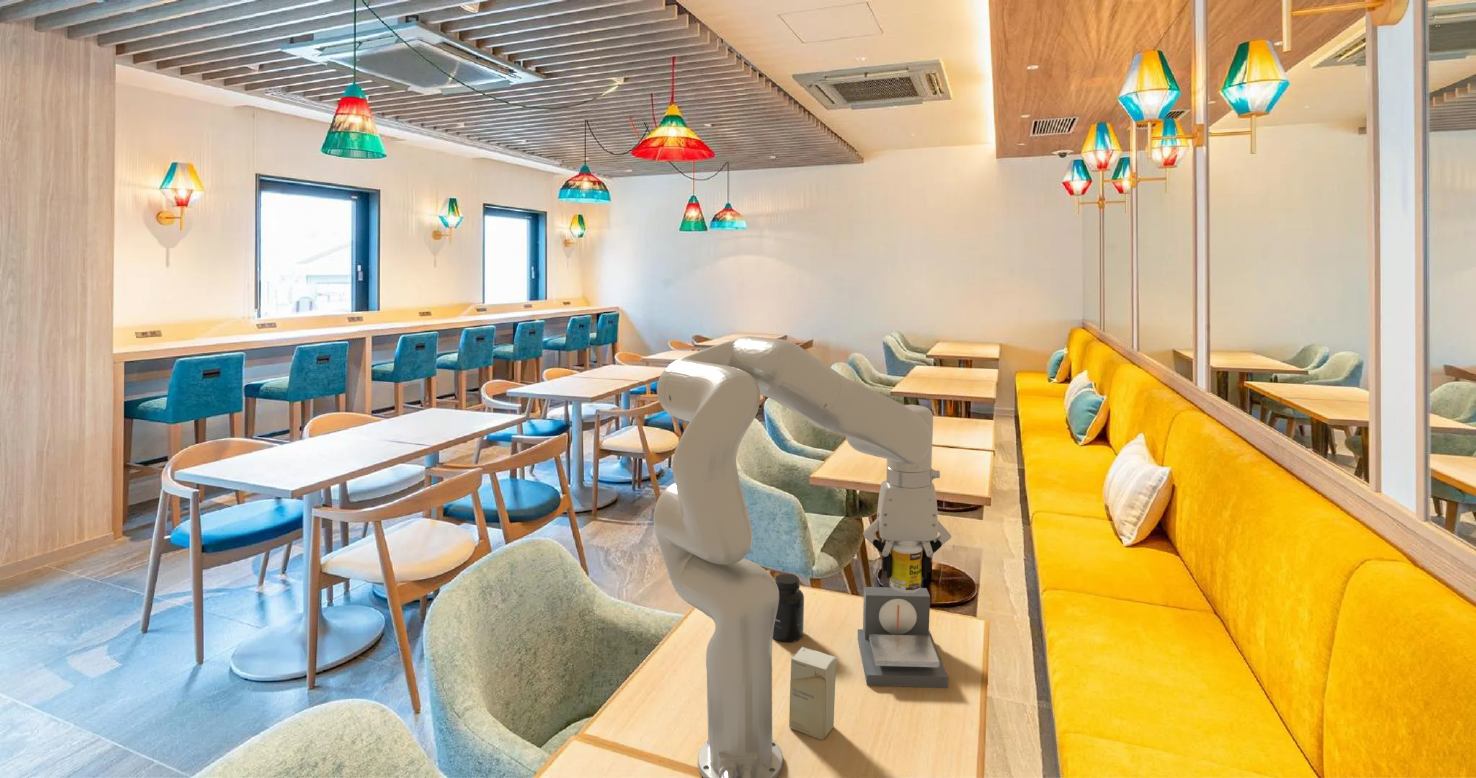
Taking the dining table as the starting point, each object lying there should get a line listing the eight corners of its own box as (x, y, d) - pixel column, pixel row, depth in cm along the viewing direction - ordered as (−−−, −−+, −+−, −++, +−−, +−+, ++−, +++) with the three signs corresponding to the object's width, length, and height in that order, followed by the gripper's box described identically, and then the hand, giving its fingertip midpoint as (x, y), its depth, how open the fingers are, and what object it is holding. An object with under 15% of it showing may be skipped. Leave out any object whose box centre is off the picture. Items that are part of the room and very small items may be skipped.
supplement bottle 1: (765, 640, 141) (765, 583, 139) (774, 623, 147) (774, 569, 145) (799, 645, 139) (800, 587, 137) (806, 628, 145) (807, 573, 143)
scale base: (947, 687, 124) (950, 628, 123) (866, 685, 125) (868, 627, 123) (929, 640, 140) (931, 587, 138) (857, 638, 141) (858, 586, 139)
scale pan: (939, 672, 125) (939, 661, 124) (875, 670, 125) (875, 660, 125) (928, 645, 133) (929, 635, 133) (869, 644, 134) (869, 634, 134)
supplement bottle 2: (910, 597, 123) (911, 541, 121) (883, 587, 127) (884, 532, 125) (927, 587, 127) (929, 532, 125) (900, 577, 131) (902, 524, 129)
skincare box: (788, 728, 114) (788, 658, 112) (800, 713, 118) (801, 645, 116) (824, 741, 111) (825, 669, 109) (836, 725, 114) (837, 655, 112)
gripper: (954, 471, 127) (949, 567, 130) (856, 470, 128) (854, 565, 131) (964, 483, 119) (959, 585, 122) (860, 482, 120) (858, 583, 123)
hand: (905, 574), depth 127 cm, fingers closed on supplement bottle 2, 5 cm apart
